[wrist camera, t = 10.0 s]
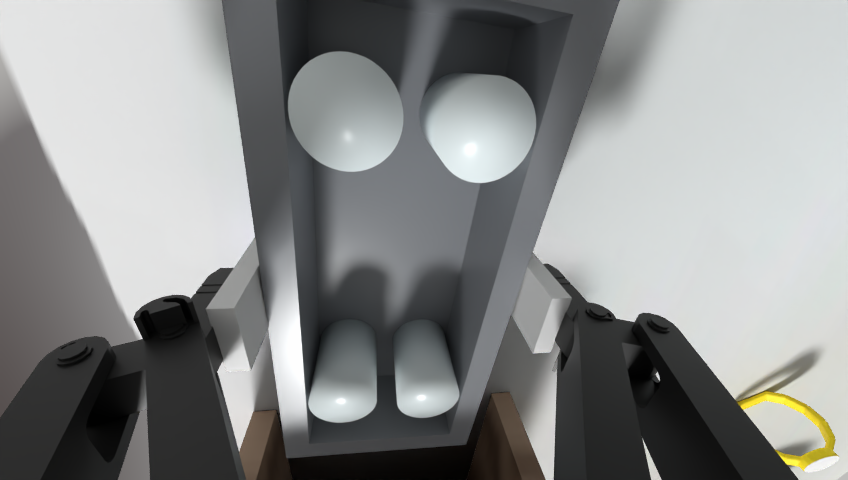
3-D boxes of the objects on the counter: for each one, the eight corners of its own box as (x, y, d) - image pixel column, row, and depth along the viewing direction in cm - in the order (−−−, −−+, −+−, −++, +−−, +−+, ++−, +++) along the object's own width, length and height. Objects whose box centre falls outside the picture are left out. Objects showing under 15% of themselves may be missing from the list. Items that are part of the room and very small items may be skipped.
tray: (272, -55, 11) (202, -140, 6) (541, 1, 12) (631, -34, 8) (304, 377, 21) (286, 458, 17) (448, 372, 23) (466, 444, 18)
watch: (719, 414, 32) (779, 482, 27) (719, 401, 31) (782, 470, 26) (782, 395, 31) (857, 461, 26) (785, 380, 30) (865, 448, 25)
